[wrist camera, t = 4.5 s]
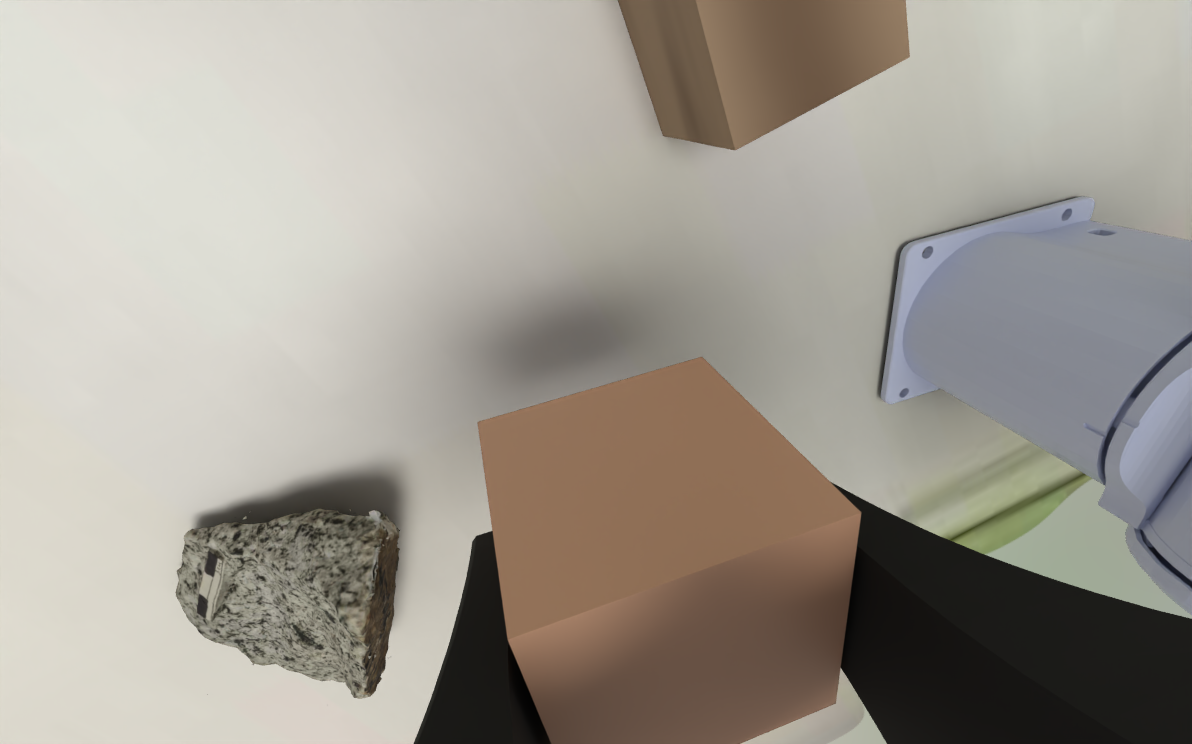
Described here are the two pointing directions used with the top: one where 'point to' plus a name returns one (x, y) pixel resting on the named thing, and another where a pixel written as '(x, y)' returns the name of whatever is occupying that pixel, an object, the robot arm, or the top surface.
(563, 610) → the terracotta block
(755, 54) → the walnut block
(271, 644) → the rock sample
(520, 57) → the top surface
